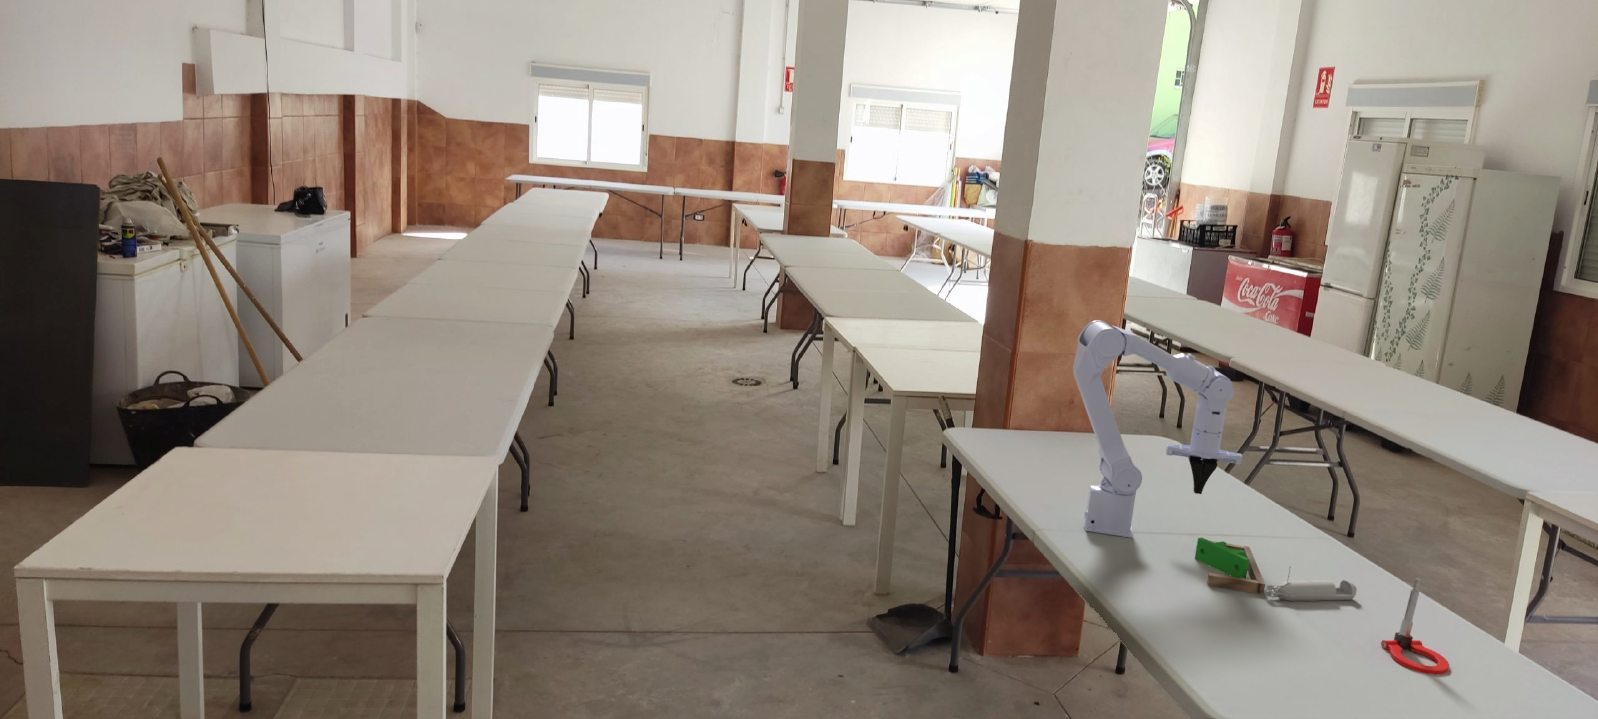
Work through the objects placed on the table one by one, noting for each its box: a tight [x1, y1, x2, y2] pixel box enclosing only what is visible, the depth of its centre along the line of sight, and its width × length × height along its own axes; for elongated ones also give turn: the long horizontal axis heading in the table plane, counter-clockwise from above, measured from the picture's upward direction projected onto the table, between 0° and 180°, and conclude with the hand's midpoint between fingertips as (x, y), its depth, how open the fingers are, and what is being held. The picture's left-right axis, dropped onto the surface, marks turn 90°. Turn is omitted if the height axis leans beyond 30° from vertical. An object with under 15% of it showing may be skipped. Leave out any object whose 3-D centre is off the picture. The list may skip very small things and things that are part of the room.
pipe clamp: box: [1194, 537, 1249, 579], centre depth 206 cm, size 11×4×5 cm, turn 29°
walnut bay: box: [1206, 540, 1266, 595], centre depth 205 cm, size 10×19×2 cm, turn 166°
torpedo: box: [1264, 566, 1358, 602], centre depth 194 cm, size 18×5×7 cm, turn 101°
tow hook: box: [1380, 577, 1450, 675], centre depth 172 cm, size 8×13×9 cm
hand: (1197, 492), depth 221 cm, fingers closed
